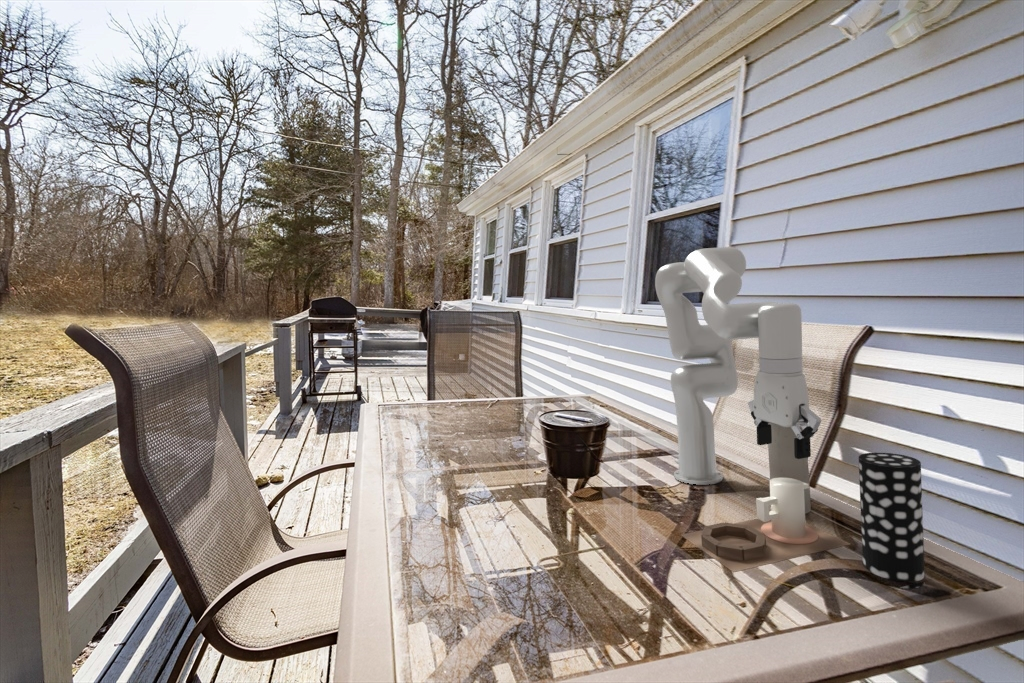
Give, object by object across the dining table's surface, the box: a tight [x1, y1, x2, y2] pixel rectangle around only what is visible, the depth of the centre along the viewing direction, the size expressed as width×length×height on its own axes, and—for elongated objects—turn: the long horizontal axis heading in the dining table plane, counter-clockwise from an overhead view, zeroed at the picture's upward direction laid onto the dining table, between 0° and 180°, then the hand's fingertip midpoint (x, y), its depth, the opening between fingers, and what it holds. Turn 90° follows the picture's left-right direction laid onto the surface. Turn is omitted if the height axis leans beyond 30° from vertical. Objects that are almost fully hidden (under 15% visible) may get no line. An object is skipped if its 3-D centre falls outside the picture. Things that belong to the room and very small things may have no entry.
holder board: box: [680, 518, 851, 573], centre depth 97 cm, size 16×26×3 cm, turn 105°
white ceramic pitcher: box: [755, 478, 809, 538], centre depth 99 cm, size 11×6×10 cm, turn 105°
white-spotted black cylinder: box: [858, 452, 926, 590], centre depth 83 cm, size 8×8×20 cm
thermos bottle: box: [767, 423, 812, 514], centre depth 113 cm, size 8×8×28 cm
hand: (782, 450), depth 99 cm, fingers open, 9 cm apart
